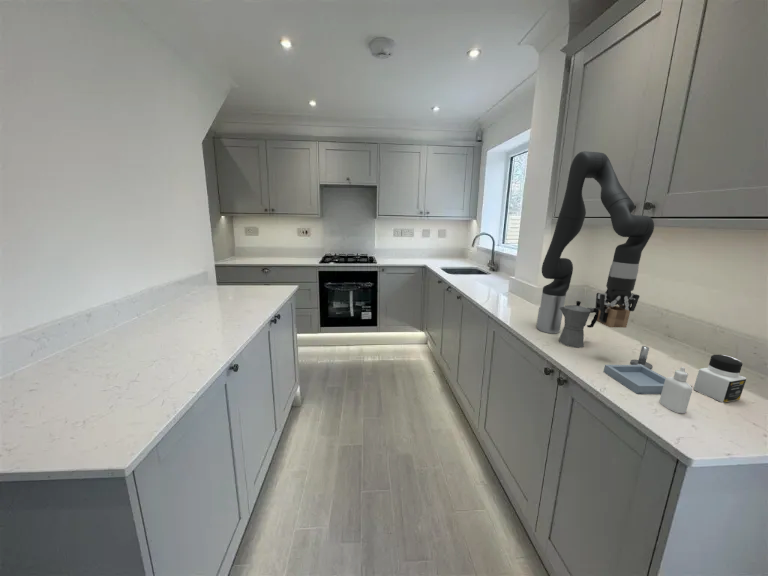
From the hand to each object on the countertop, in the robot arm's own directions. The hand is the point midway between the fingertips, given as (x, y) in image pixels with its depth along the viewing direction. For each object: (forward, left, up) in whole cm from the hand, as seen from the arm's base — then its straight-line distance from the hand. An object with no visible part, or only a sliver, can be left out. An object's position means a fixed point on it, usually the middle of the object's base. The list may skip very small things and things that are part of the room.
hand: (611, 321), depth 106 cm
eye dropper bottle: (+28, -3, -15) cm, 32 cm away
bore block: (0, 0, -1) cm, 1 cm away
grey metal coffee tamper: (+4, +11, -15) cm, 19 cm away
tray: (+15, 0, -15) cm, 21 cm away
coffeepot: (-15, -1, -15) cm, 21 cm away
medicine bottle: (+22, +17, -15) cm, 32 cm away
